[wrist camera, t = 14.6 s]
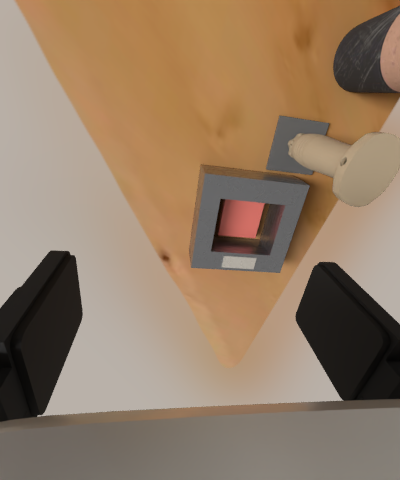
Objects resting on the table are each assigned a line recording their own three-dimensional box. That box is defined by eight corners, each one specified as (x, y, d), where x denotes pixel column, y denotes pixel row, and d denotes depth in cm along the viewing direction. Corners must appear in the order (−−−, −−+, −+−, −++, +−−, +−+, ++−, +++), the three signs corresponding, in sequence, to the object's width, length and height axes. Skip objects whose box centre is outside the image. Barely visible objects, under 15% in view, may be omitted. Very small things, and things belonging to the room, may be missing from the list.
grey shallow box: (200, 164, 36) (205, 173, 31) (293, 175, 38) (310, 185, 34) (188, 250, 42) (191, 268, 38) (269, 255, 45) (280, 273, 40)
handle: (323, 127, 35) (416, 144, 22) (300, 173, 38) (370, 212, 25) (293, 115, 34) (372, 124, 21) (271, 162, 36) (328, 198, 23)
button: (223, 195, 38) (225, 198, 37) (262, 199, 39) (264, 202, 38) (217, 231, 41) (218, 235, 40) (253, 234, 42) (255, 238, 41)
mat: (279, 115, 34) (280, 115, 34) (327, 123, 35) (329, 123, 35) (265, 168, 37) (266, 169, 37) (310, 174, 38) (311, 174, 38)
